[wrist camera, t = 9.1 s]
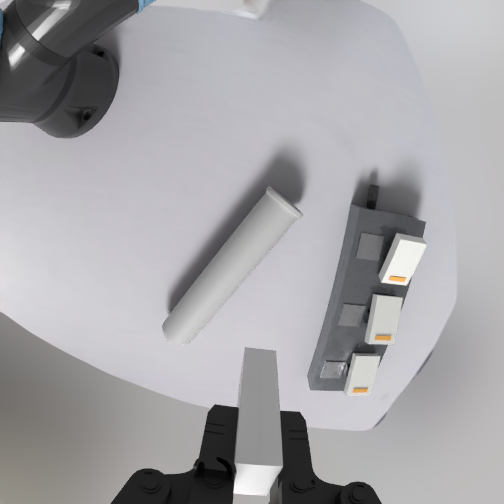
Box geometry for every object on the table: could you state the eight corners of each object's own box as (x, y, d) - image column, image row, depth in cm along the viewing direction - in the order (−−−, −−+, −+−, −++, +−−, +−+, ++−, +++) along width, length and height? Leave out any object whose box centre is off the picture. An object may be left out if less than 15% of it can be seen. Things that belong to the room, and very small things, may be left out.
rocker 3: (373, 294, 34) (378, 295, 33) (397, 296, 34) (403, 297, 33) (364, 341, 34) (368, 344, 33) (389, 341, 34) (394, 344, 33)
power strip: (354, 181, 34) (365, 183, 30) (417, 196, 34) (432, 200, 30) (307, 375, 43) (310, 392, 39) (361, 377, 43) (368, 392, 39)
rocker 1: (353, 353, 37) (356, 356, 35) (376, 353, 37) (381, 356, 36) (343, 391, 37) (346, 396, 35) (366, 391, 37) (370, 395, 35)
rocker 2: (396, 232, 30) (401, 239, 29) (422, 238, 30) (427, 245, 29) (378, 275, 34) (381, 283, 32) (403, 278, 34) (407, 286, 32)
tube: (148, 330, 37) (263, 182, 30) (168, 319, 42) (273, 188, 35) (175, 358, 36) (300, 213, 30) (193, 344, 41) (305, 215, 35)
